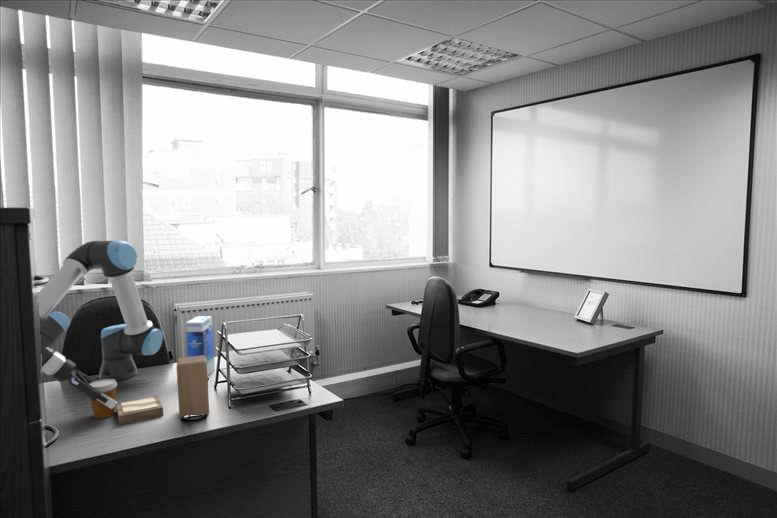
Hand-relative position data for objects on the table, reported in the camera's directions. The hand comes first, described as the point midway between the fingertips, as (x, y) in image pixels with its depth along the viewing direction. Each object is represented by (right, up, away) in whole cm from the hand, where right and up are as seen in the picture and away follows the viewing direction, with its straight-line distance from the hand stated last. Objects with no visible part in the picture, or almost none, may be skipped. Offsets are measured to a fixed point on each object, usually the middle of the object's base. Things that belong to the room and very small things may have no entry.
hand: (113, 401), depth 183 cm
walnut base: (+10, -4, -1) cm, 11 cm away
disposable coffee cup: (-3, -5, -1) cm, 6 cm away
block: (+30, -4, -1) cm, 30 cm away
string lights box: (+17, 0, +43) cm, 46 cm away
